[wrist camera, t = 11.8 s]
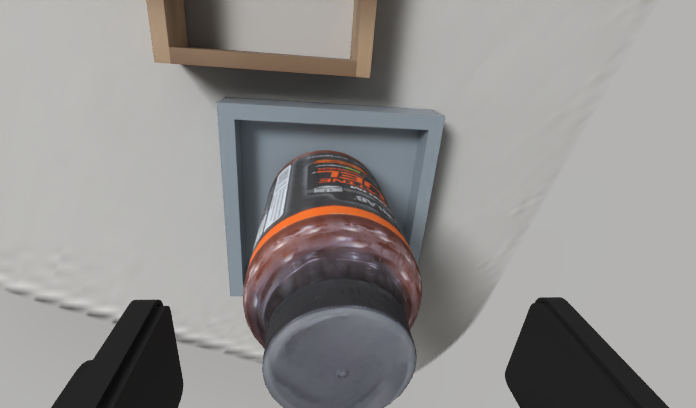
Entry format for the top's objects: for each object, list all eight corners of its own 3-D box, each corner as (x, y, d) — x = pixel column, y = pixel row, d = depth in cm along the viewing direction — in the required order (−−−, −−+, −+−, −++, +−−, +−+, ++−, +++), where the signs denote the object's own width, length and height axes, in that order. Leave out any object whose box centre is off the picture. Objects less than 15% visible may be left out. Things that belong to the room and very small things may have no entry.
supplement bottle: (396, 168, 19) (503, 313, 9) (353, 258, 21) (399, 463, 11) (288, 128, 18) (264, 244, 7) (254, 229, 20) (196, 433, 9)
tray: (225, 97, 17) (216, 102, 15) (433, 109, 18) (445, 116, 17) (236, 276, 21) (230, 296, 20) (405, 276, 23) (412, 294, 21)
